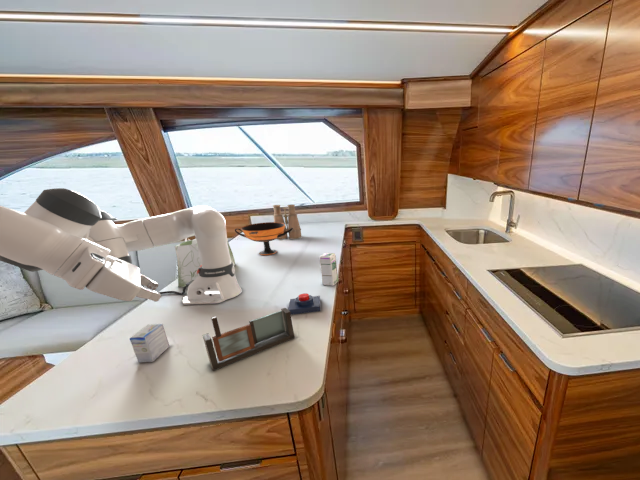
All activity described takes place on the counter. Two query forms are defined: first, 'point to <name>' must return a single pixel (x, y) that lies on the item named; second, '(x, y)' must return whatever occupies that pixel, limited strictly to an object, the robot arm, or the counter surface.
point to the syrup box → (328, 269)
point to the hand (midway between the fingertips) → (158, 292)
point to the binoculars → (288, 221)
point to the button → (303, 297)
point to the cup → (264, 234)
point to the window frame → (258, 337)
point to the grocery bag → (190, 261)
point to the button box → (304, 305)
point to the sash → (232, 340)
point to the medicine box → (149, 342)
